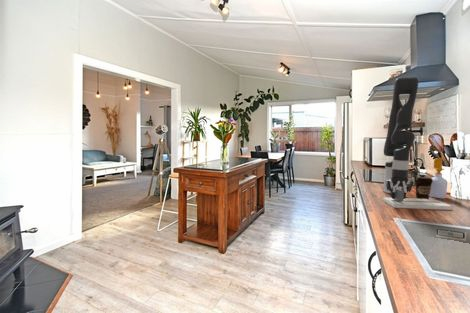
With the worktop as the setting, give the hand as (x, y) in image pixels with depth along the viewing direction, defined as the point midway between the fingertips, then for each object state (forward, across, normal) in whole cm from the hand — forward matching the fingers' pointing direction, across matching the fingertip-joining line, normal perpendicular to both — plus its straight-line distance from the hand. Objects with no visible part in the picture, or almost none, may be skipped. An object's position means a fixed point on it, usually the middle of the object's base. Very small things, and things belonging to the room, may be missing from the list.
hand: (398, 198), depth 138 cm
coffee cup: (+4, -22, -14) cm, 26 cm away
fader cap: (+1, 0, 0) cm, 1 cm away
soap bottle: (+4, -33, -21) cm, 39 cm away
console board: (+3, -9, 0) cm, 10 cm away
